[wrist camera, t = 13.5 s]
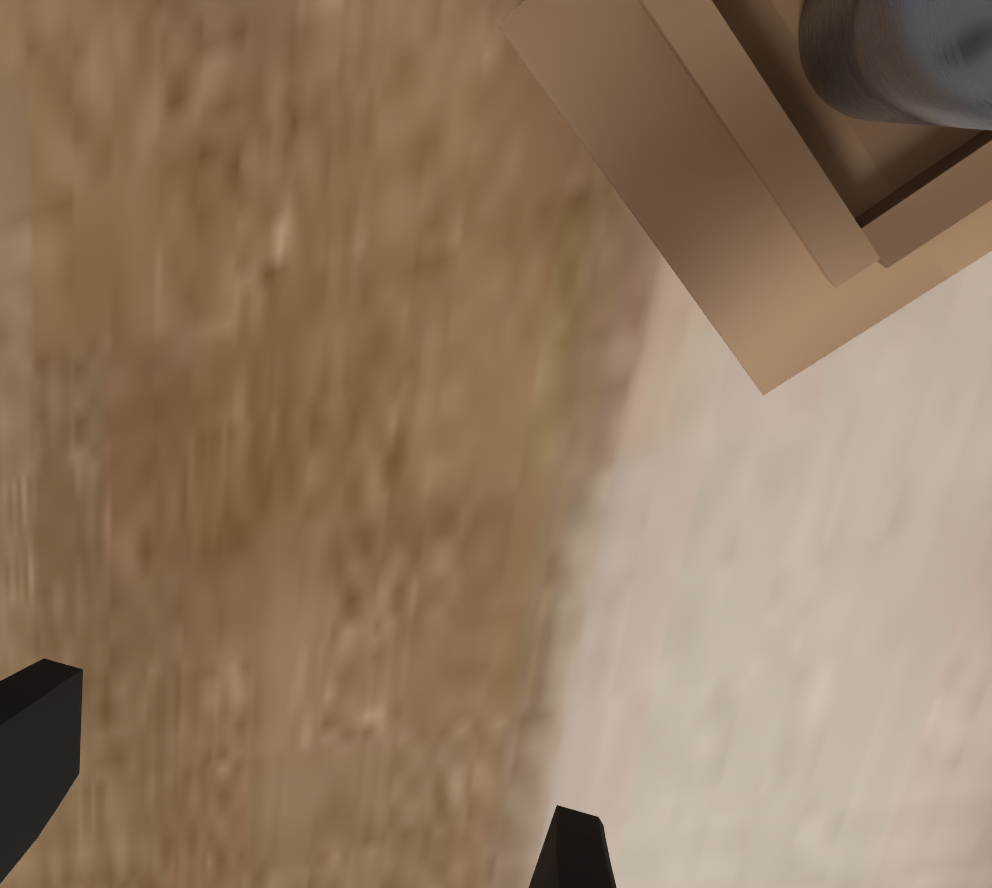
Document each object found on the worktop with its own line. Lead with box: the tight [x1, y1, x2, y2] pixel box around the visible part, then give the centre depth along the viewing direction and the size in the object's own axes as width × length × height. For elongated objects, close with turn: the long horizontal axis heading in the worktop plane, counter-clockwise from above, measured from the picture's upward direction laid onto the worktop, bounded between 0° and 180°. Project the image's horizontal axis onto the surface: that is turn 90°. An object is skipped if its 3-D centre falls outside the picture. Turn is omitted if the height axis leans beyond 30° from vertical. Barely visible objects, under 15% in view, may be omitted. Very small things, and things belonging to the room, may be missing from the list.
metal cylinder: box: [798, 0, 992, 130], centre depth 10 cm, size 3×3×7 cm
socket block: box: [497, 0, 992, 395], centre depth 15 cm, size 8×10×5 cm
